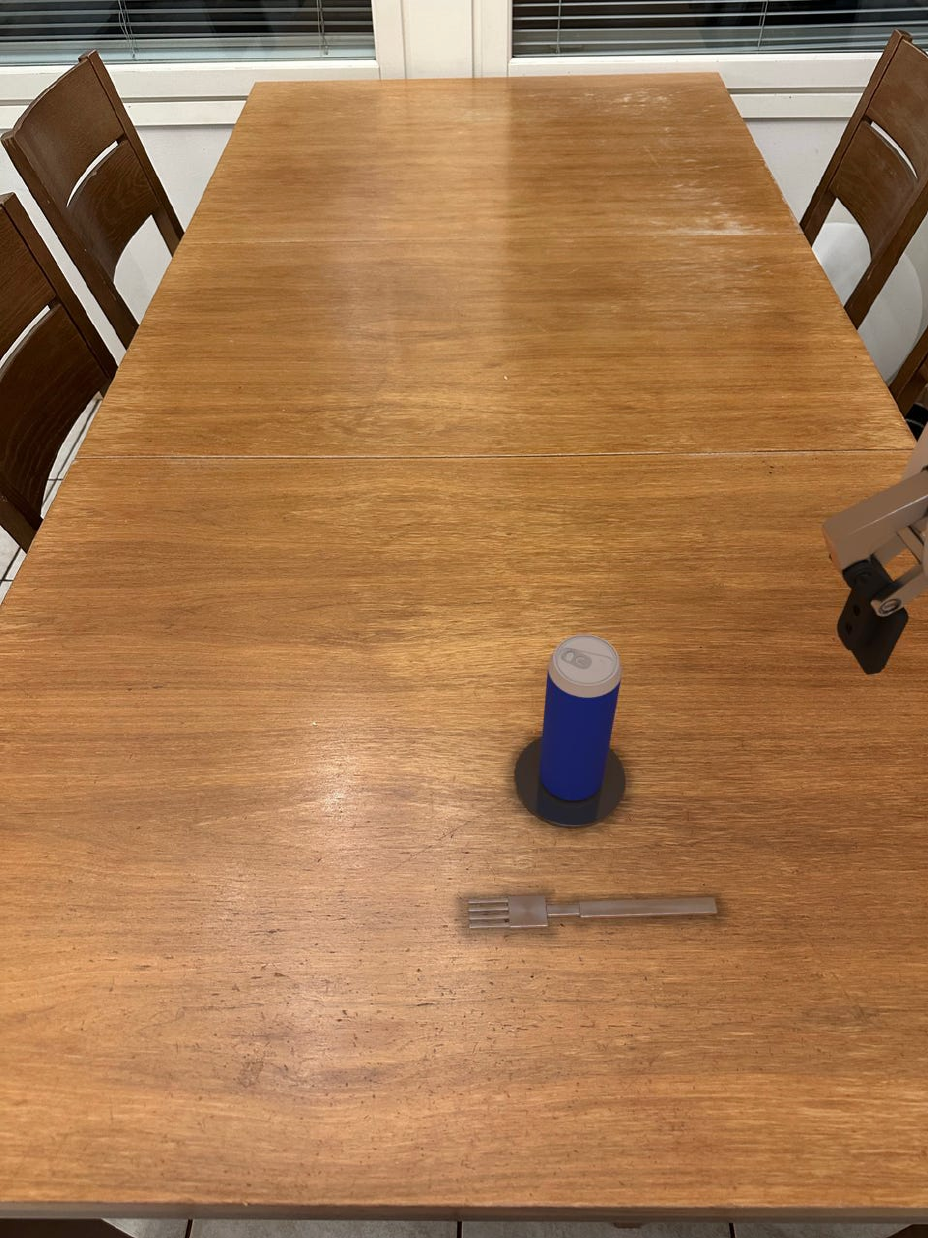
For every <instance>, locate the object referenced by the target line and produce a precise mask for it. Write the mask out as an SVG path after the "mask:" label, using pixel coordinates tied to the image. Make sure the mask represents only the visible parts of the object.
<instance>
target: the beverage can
mask: <svg viewBox="0 0 928 1238" xmlns="http://www.w3.org/2000/svg"><path fill="white" fill-rule="evenodd" d="M621 663H622V662H621V660H620V657H619V653H618V652H617V650H616V648H615V647H614V646H613V645H612V644H611V643H610V642H609V641H608V640H606V639H604V638H603V637H600V636H597V635H593V634H588V633H587V634H585V633H584V634H583V633H582V634H581V633H580V634H575V635H572V636H568V637H567V638H565V639H563V640H562V641H561V642H559V643H558V644H557V646H556V647H555V649H554V650H553V652H552V653H551V655H550V657H549V659H548V663H547V664H548V665H547V672H546V683H545V684H546V685H545V698H544V709H543V722H542V731H541V736H542V744H541V756H540V768H539V774H540V779H541V781H542V783H543V785H544V787H545V788H546V789H547V790H548V791H549V792H550V793H551V794H553V795H554V796H556V797H558V798H561V799H564V800H570V801H577V800H583V799H586V798H588V797H590V796H592V795H593V794H595V793H596V792H597V791H598V790H599V788H600V787H601V785H602V782H603V778H604V772H605V767H606V761H607V755H608V750H609V747H610V744H611V738H612V733H613V728H614V721H615V715H616V709H617V704H618V698H619V694H620V688H621V681H622V676H623V667H622V666H623V665H622V664H621Z"/></svg>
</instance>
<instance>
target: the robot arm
mask: <svg viewBox="0 0 928 1238" xmlns="http://www.w3.org/2000/svg"><path fill="white" fill-rule="evenodd" d="M820 530H821V533H822V536H823V539H824V542H825V545H826V548H827V552H828V553H829V554H828V558H829V559H830V561H831V562H832V564H833V565H834V567H835V569H836V570H837V571H838V573H839V575H840V576H841V578H842V579H843V581H844V582H845V584H846V585H847V587H848V588H850V592H849V594H848V596H847V598H846V601H845V603H844V606H843V608H842V610H841V613H840V615H839V618H838V619H837V623H836V630H837V635H838V638H839V640H840V642H841V644H842V645H843V646H844V648H845V649H846V650H847V651H850V652H851V654H852V655H853V657H854V658H855V660H856V661H857V663H858V665H859V666H860V668H861V669H862V671H863V672H864V674H866V675H867V676H868V675H876V674H880V673H881V672H882V671H883V670H885V667H886V665H887V663H888V662H889V659H890V658H891V656H892V654H893V651H894V649H895V648H896V646H897V644H898V642H899V640H900V637H901V636H902V634H903V632H904V630H905V628H906V626H907V624H908V622H909V613H908V611H907V610H906V608H905V606H907V605H908V604H909V603H911V602H913V601H914V600H915V599H916V598H918V597H919V596H921V595H922V594H924V592H926V591H928V421H927V422H926V424H925V426H924V428H923V430H922V432H921V434H920V436H919V438H918V440H917V442H916V444H915V445H914V448H913V450H912V451H911V454H910V456H909V458H908V461H907V463H906V465H905V467H904V469H903V471H902V474H901V476H900V478H899V480H898V482H897V483H896V484H893V485H892V486H889V487H888V488H885V489H884V490H881V491H879V492H878V493H875V494H873V495H872V496H869V497H868V498H866V499H864V500H863V499H862V500H861V501H860V502H859V501H858V502H857V503H855V504H853V505H851V506H849V507H847V508H845V509H843V510H841V511H839V512H837V513H835V514H833V515H831V516H829V517H828V518H826V519H825V520H824V521H823V523H822V525H821V529H820ZM924 532H925V533H924ZM922 533H924V534H922ZM906 549H908V550H909V552H910V553H911V554H912V556H913V557H914V558H915V559H916V561H917V563H916V564H914V565H913V566H912V567H910V568H909V569H908V570H906V571H904V572H903V573H902V574H900V576H899V577H897V578H895V579H893V578H892V577H891V576H890V574H889V573H888V572H887V570H886V569H885V567H884V566H885V565H886V564H888V563H889V562H890V561H893V559H895V558H896V557H898V555H900V554H901V553H902V552H904V551H905V550H906Z"/></svg>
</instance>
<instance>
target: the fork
mask: <svg viewBox="0 0 928 1238" xmlns="http://www.w3.org/2000/svg"><path fill="white" fill-rule="evenodd" d="M467 902H468V903H467V904H468V905H488V904H507V905H493V906H469V907H468V913H494V912H507V913H505V914H503V913H502V914H476V915H475V914H474V915H473V914H472V915H468V921H469V922H474V921H477V922H479V921H503V920H508V922H482V923H481V922H480V923H469V924H468V928H469V930H482V929H485V930H486V929H487V930H488V929H509V930H524V929H526V930H527V929H548V928H549V921H548V920H549V919H548V918H562V917H563V918H567V917H568V918H569V917H570V918H571V917H579V919H580V920H586V919H587V920H588V919H618V918H619V919H620V918H621V919H622V918H623V919H624V918H649V917H650V918H651V917H653V918H654V917H683V916H684V917H685V916H710V915H711V916H713V915H714V916H715V915H716V916H717V914H718V913H719V912H718V906H717V902H716V898H715V897H714V896H706V897H705V896H703V897H676V898H673V897H672V898H671V897H670V898H648V899H647V898H645V899H644V898H643V899H618V900H617V899H615V900H614V899H613V900H610V899H609V900H581V901H578V903H570V904H569V903H568V904H547V897H546V894H531V895H527V894H526V895H525V894H523V895H507V897H492V898H468V899H467Z"/></svg>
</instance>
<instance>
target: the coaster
mask: <svg viewBox="0 0 928 1238" xmlns="http://www.w3.org/2000/svg"><path fill="white" fill-rule="evenodd" d="M541 744H542V735H541V736H539V737H537V738H535V739H533V740H532V741H531V742H530V743H528V744H527V745H526V746H525V747H524V748H523V750H522V751H521V752H520V754H519V756H518V758H517V759H516V763H515V767H514V771H513V775H514V776H513V781H514V782H513V783H514V788H515V791H516V795H517V796H518V798H519V800H520V801H521V803H522V805H523V806H524V807H525V808H526V809H527V810H528V811H529V812H530V813H531V814H532V815H533V816H534V817H536V818H538V819H539V820H541V821H543V822H545V823H547V824H549V825H552V826H556V827H558V828H565V829H583V828H587V827H591V826H595V825H597V824H599V823H602V822H603V821H605V820H606V819H607V818H609V817H610V816H611V815H612V814H614V813H615V811H616V810H617V809H618V808H619V806H620V804H621V802H622V801H623V799H624V796H625V795H624V794H625V791H626V784H627V783H626V782H627V779H626V773H625V769H624V766H623V764H622V762H621V760H620V758H619V756H618V755H617V754H616V753H615V751H614V750H613V749H612V748H611V747H610V746H609V750H608V755H607V761H606V767H605V772H604V778H603V782H602V785H601V787H600V788H599V790H598V791H597V792H596V793H595V794H593V795H592V796H590V797H588V798H586V799H583V800H577V801H570V800H564V799H561V798H558V797H556V796H554V795H553V794H551V793H550V792H549V791H548V790H547V789H546V788H545V787H544V785H543V783H542V781H541V779H540V774H539V768H540V756H541Z"/></svg>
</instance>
